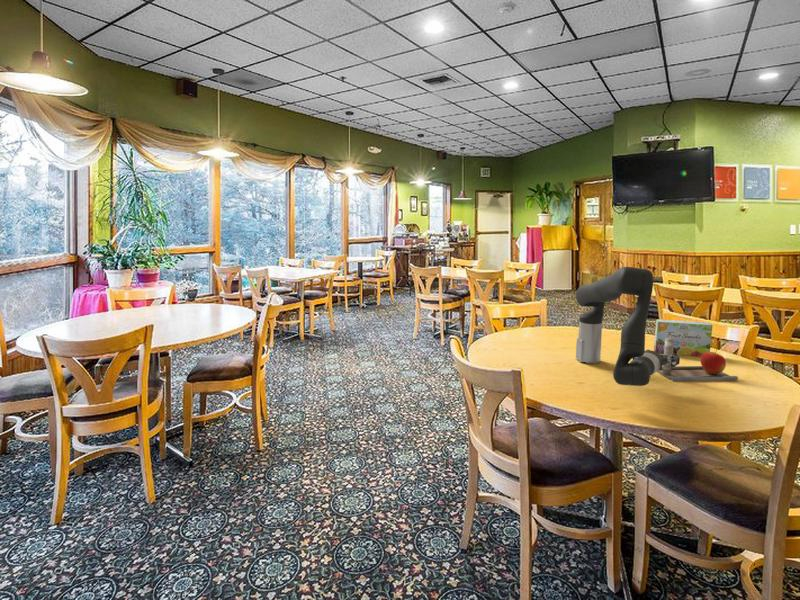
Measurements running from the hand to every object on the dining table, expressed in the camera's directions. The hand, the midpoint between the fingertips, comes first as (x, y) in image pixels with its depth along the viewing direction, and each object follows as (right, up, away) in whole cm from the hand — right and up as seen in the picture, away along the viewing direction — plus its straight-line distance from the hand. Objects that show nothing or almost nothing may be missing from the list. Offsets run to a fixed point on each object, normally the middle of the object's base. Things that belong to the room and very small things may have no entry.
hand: (661, 354), depth 173 cm
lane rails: (+18, -9, +10) cm, 23 cm away
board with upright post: (+18, -9, +10) cm, 23 cm away
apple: (+25, -9, +10) cm, 28 cm away
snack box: (+31, -5, +39) cm, 50 cm away
